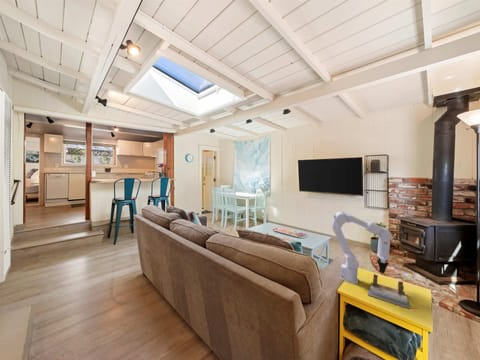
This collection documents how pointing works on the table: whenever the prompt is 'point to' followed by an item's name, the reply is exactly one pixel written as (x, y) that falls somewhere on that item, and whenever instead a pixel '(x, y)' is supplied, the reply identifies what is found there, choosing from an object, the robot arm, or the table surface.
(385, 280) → the table surface
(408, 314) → the table surface
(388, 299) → the mat
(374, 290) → the rail
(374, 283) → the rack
